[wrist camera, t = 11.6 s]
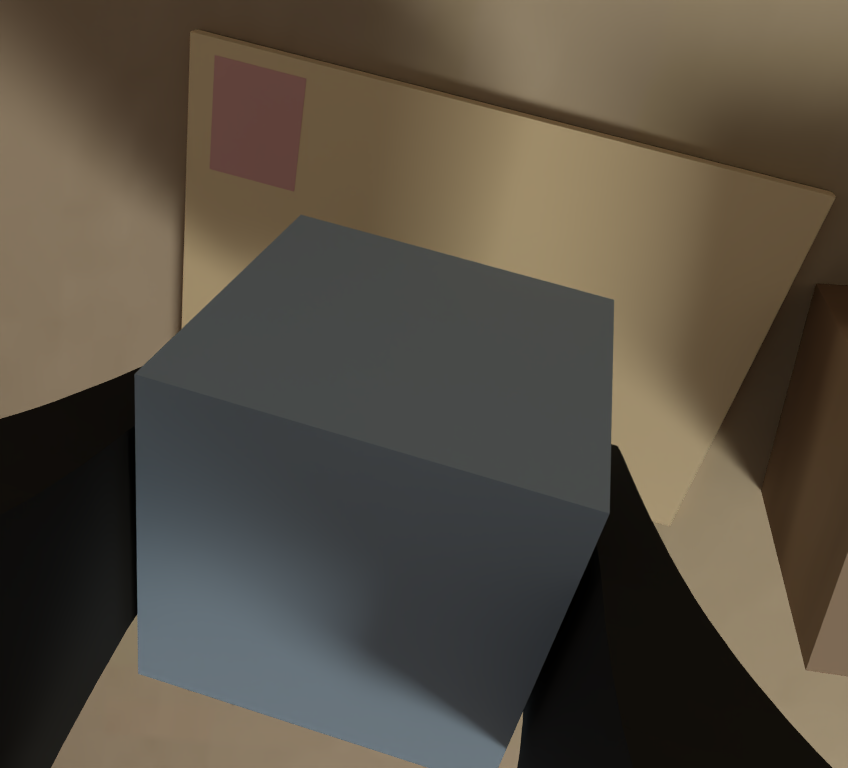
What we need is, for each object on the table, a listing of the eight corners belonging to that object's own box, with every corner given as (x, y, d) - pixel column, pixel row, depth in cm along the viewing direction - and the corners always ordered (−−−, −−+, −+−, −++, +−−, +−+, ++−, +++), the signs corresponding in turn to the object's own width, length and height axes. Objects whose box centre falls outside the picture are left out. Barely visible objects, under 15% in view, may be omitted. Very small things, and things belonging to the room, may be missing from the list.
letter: (186, 377, 19) (179, 384, 19) (197, 29, 15) (189, 31, 15) (668, 518, 18) (669, 526, 18) (832, 191, 14) (836, 197, 14)
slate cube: (273, 460, 15) (137, 674, 11) (300, 214, 12) (134, 373, 8) (527, 535, 15) (489, 787, 10) (614, 299, 12) (608, 513, 8)
